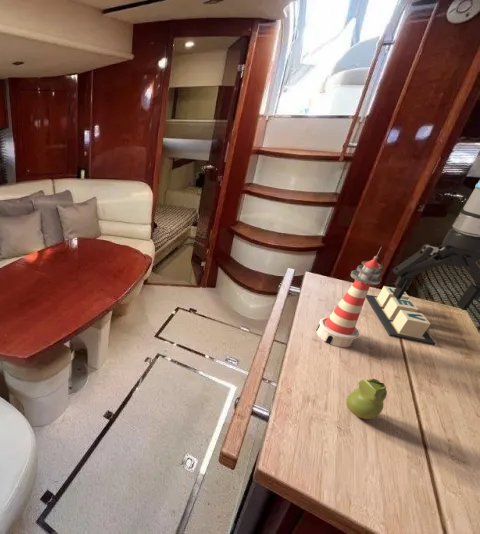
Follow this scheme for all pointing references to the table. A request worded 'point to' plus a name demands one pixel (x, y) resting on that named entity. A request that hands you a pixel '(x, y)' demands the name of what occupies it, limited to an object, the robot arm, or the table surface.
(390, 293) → the letter S
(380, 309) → the word mat
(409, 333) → the cream letter cube
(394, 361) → the table surface
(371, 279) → the miniature lighthouse
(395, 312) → the letter E
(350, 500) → the table surface
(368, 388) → the green rounded piece
